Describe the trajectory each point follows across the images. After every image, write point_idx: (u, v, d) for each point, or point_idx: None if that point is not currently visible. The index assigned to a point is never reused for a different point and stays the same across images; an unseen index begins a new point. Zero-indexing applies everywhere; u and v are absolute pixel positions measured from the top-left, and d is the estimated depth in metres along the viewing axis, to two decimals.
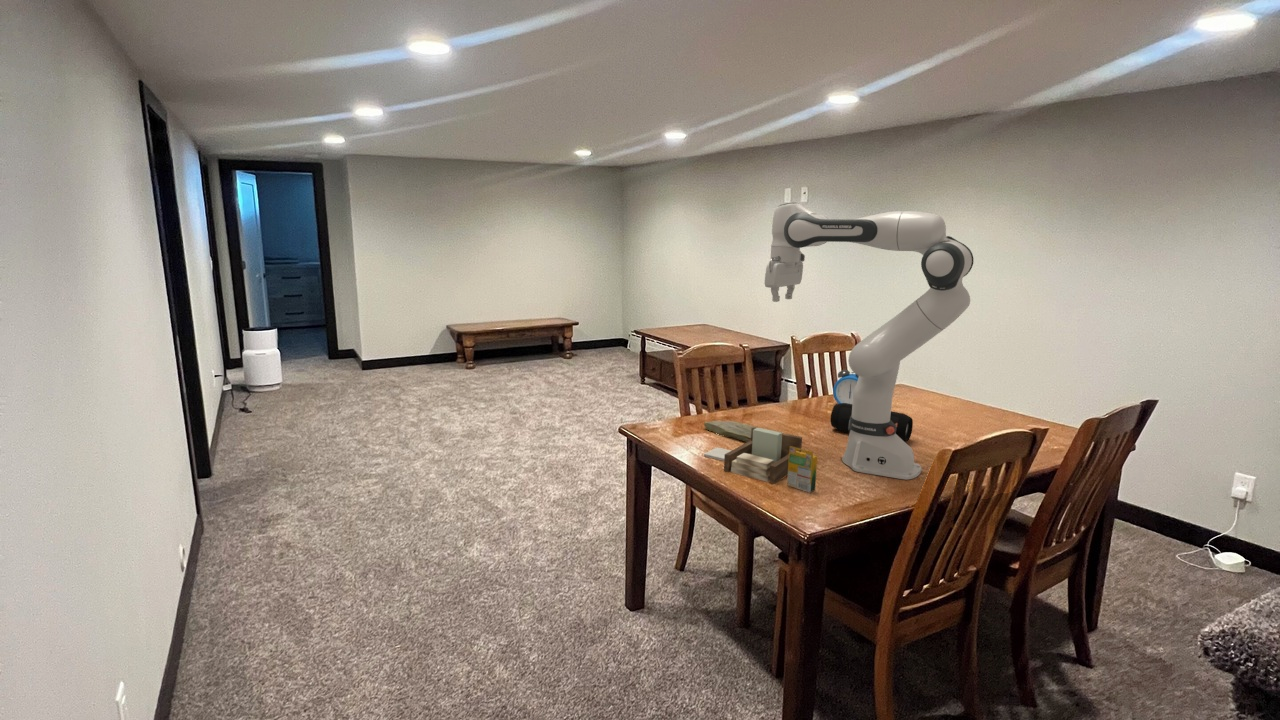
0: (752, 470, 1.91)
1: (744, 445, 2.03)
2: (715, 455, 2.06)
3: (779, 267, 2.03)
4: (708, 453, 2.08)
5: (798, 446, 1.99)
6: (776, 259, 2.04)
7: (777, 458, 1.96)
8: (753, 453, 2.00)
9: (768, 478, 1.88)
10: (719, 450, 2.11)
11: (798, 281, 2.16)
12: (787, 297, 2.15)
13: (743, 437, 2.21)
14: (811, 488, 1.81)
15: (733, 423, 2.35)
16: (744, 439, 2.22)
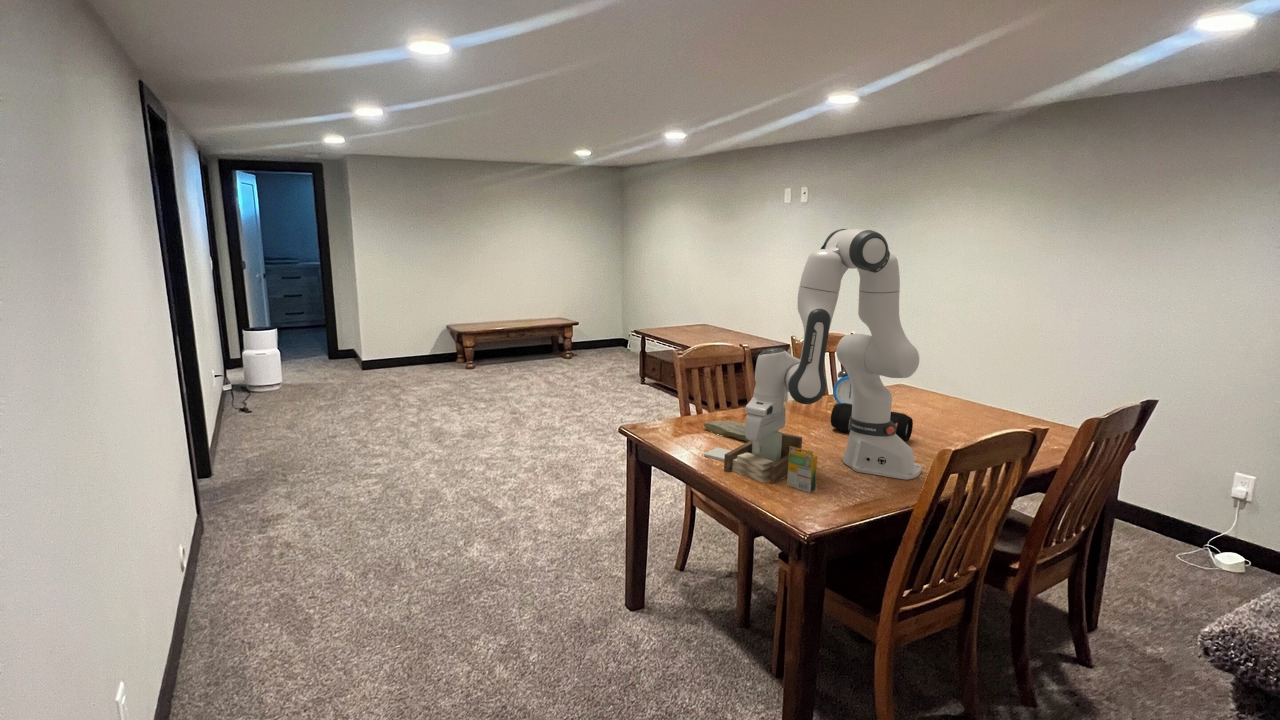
0: (750, 470, 1.91)
1: (744, 445, 2.03)
2: (715, 455, 2.06)
3: None
4: (708, 453, 2.08)
5: (798, 446, 1.99)
6: None
7: (777, 458, 1.96)
8: (753, 453, 2.00)
9: (764, 479, 1.88)
10: (719, 450, 2.11)
11: None
12: None
13: (744, 437, 2.21)
14: (811, 488, 1.81)
15: (733, 423, 2.35)
16: (746, 439, 2.22)
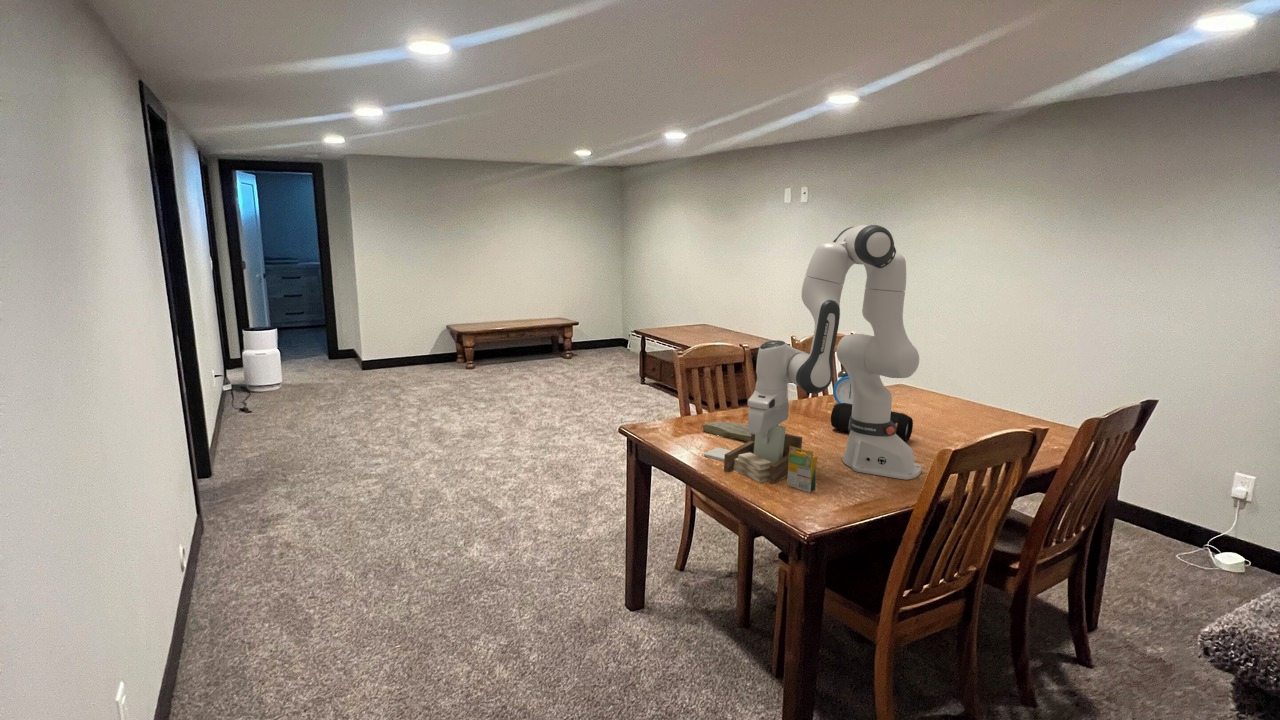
0: (749, 469, 1.91)
1: (744, 445, 2.03)
2: (715, 455, 2.06)
3: None
4: (708, 453, 2.08)
5: (798, 446, 1.99)
6: None
7: (779, 452, 1.95)
8: (755, 447, 1.99)
9: (761, 479, 1.88)
10: (719, 450, 2.11)
11: None
12: None
13: (747, 437, 2.21)
14: (811, 488, 1.81)
15: (730, 423, 2.34)
16: (748, 439, 2.21)
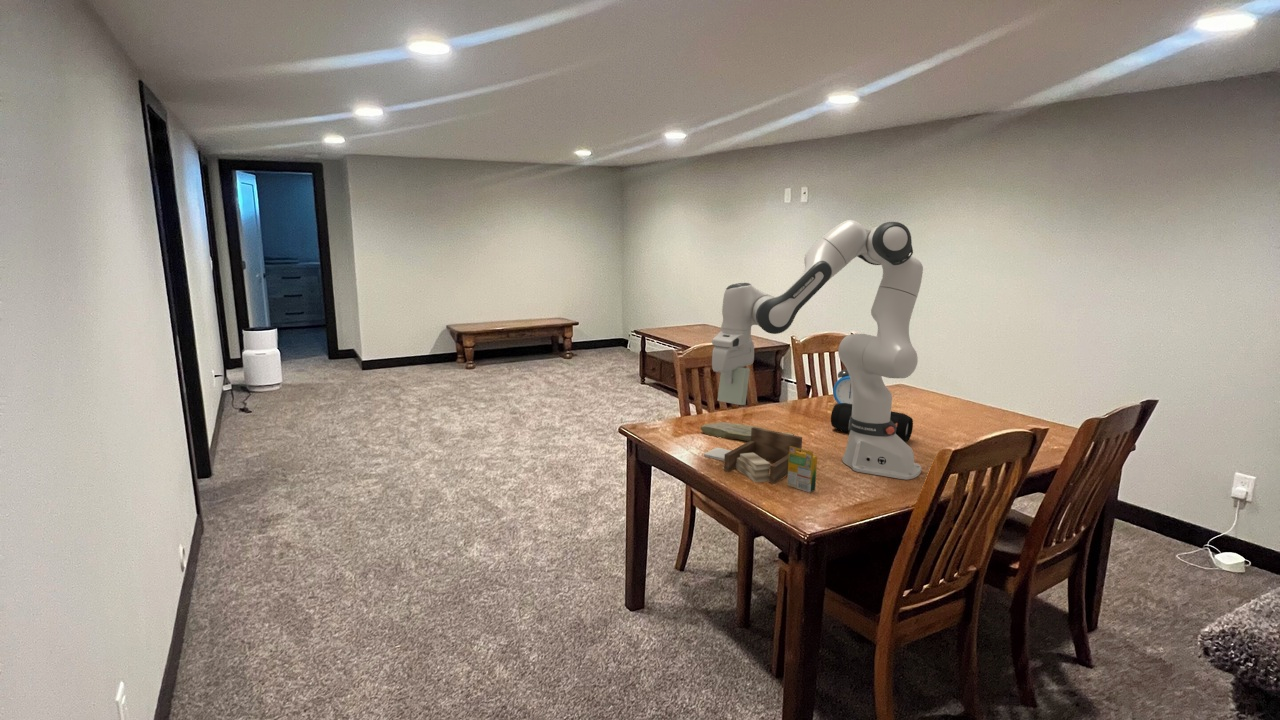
0: (747, 469, 1.91)
1: (744, 445, 2.03)
2: (715, 455, 2.06)
3: None
4: (708, 453, 2.08)
5: (798, 446, 1.99)
6: None
7: (743, 393, 1.99)
8: (720, 388, 2.03)
9: (757, 479, 1.87)
10: (719, 450, 2.11)
11: None
12: None
13: (749, 437, 2.21)
14: (811, 488, 1.81)
15: (727, 424, 2.33)
16: None
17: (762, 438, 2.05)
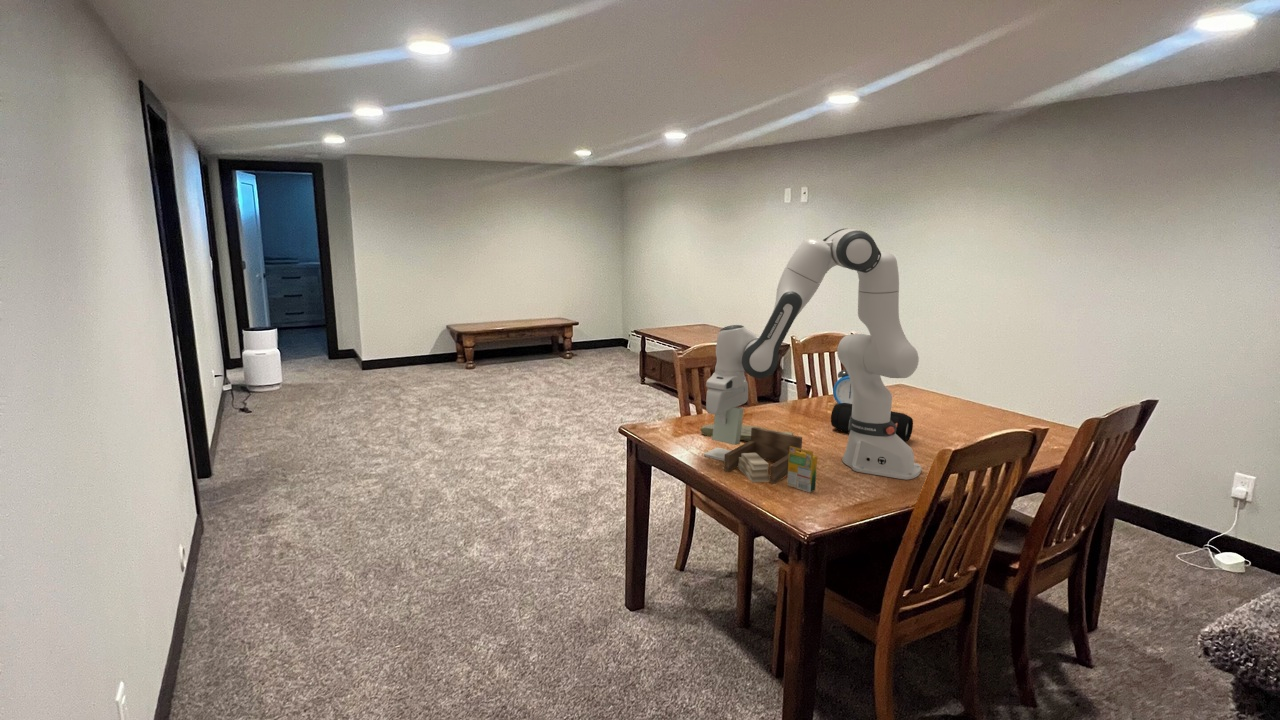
0: (746, 469, 1.92)
1: (744, 445, 2.03)
2: (715, 455, 2.06)
3: None
4: (708, 453, 2.08)
5: (798, 446, 1.99)
6: None
7: (737, 433, 2.02)
8: (714, 428, 2.06)
9: (754, 479, 1.87)
10: (719, 450, 2.11)
11: None
12: None
13: None
14: (811, 488, 1.81)
15: None
16: None
17: (762, 438, 2.05)
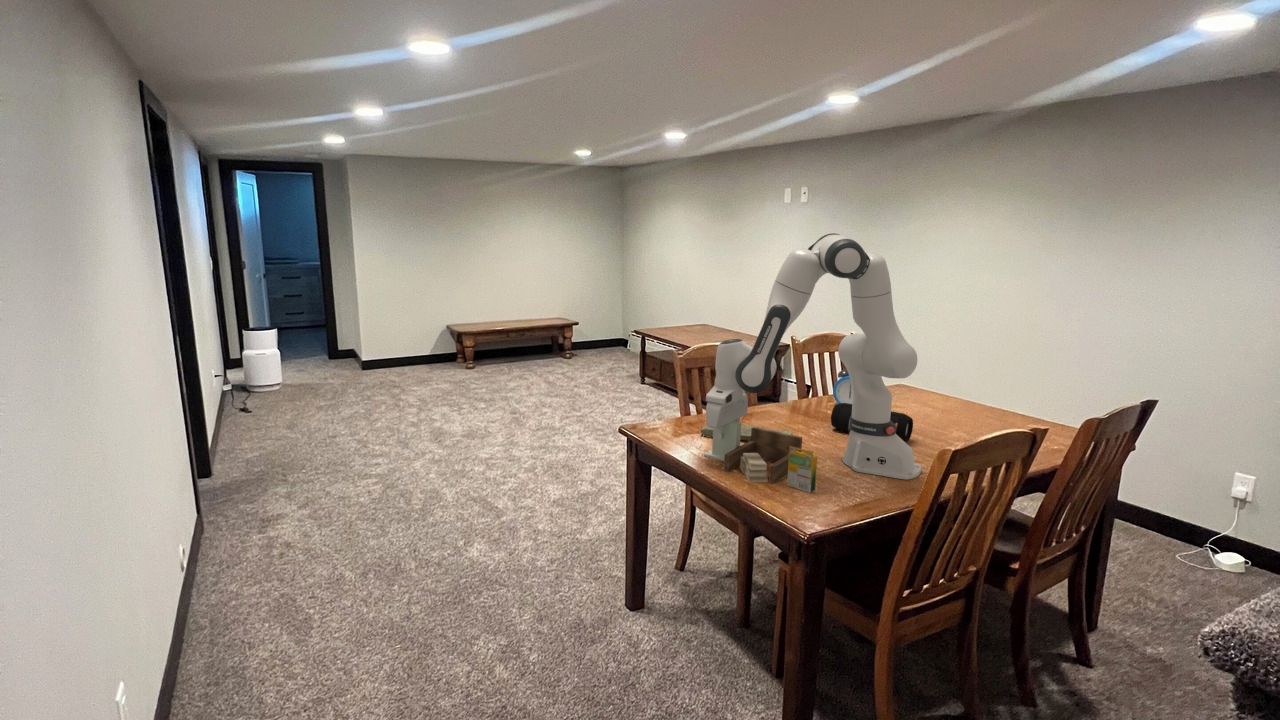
0: (746, 468, 1.92)
1: (744, 445, 2.03)
2: (715, 455, 2.06)
3: None
4: (708, 453, 2.08)
5: (798, 446, 1.99)
6: None
7: (736, 447, 2.03)
8: (713, 442, 2.07)
9: (752, 479, 1.88)
10: None
11: None
12: None
13: None
14: (811, 488, 1.81)
15: None
16: None
17: (762, 438, 2.05)
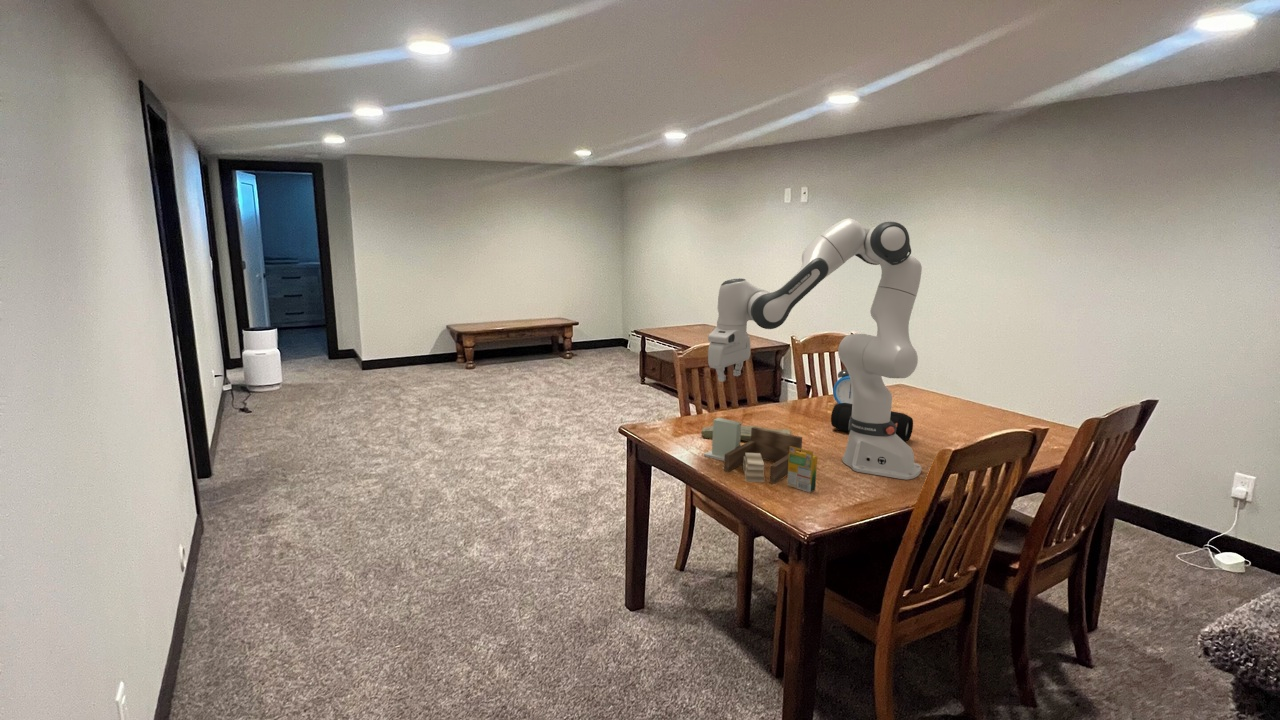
0: (745, 468, 1.92)
1: (744, 445, 2.03)
2: (715, 455, 2.06)
3: None
4: (708, 453, 2.08)
5: (798, 446, 1.99)
6: None
7: (736, 447, 2.03)
8: (713, 442, 2.07)
9: (748, 479, 1.88)
10: None
11: None
12: None
13: None
14: (811, 488, 1.81)
15: None
16: None
17: (762, 438, 2.05)
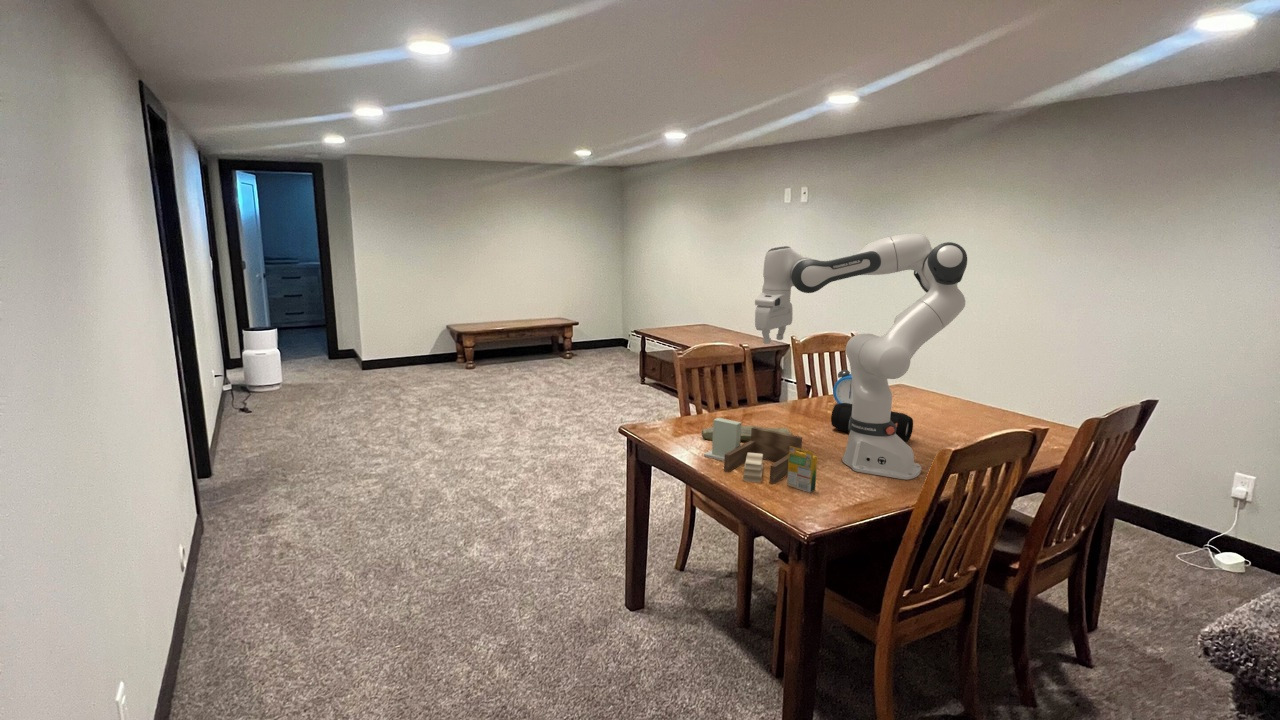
0: None
1: (744, 445, 2.03)
2: (715, 455, 2.06)
3: None
4: (708, 453, 2.08)
5: (798, 446, 1.99)
6: None
7: (736, 447, 2.03)
8: (713, 442, 2.07)
9: (745, 478, 1.88)
10: None
11: None
12: None
13: None
14: (811, 488, 1.81)
15: None
16: None
17: (762, 438, 2.05)
